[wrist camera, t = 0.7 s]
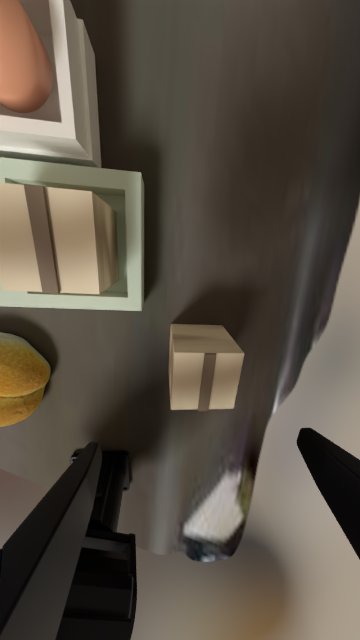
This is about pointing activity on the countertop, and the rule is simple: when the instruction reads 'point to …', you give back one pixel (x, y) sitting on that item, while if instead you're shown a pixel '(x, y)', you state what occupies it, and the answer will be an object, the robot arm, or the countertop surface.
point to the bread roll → (20, 379)
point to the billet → (203, 367)
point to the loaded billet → (56, 240)
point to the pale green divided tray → (128, 203)
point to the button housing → (58, 95)
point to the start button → (22, 61)
